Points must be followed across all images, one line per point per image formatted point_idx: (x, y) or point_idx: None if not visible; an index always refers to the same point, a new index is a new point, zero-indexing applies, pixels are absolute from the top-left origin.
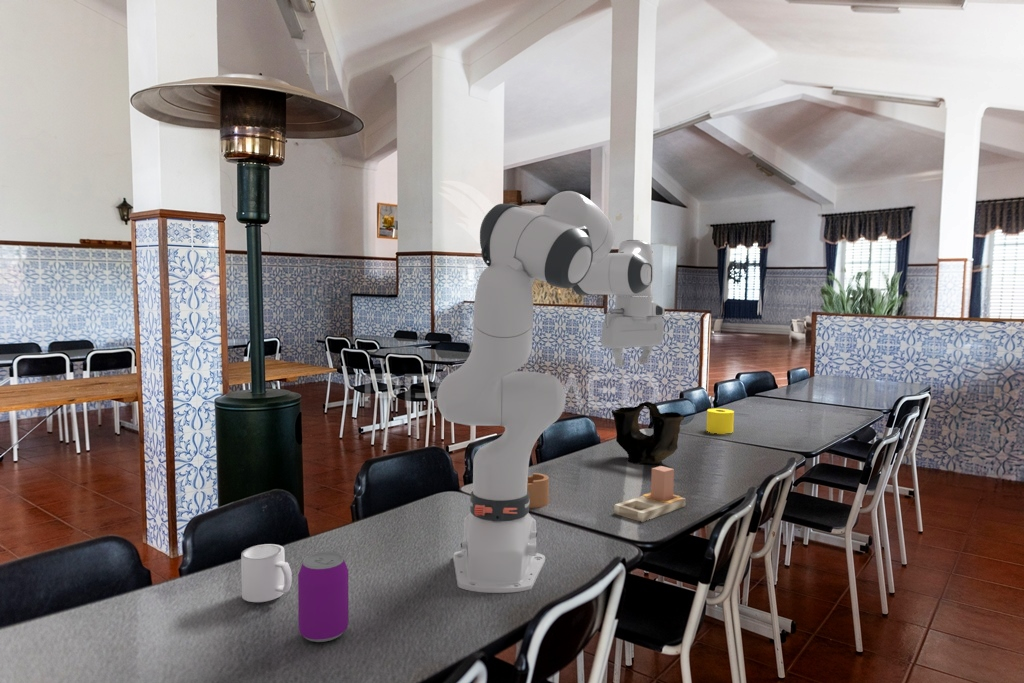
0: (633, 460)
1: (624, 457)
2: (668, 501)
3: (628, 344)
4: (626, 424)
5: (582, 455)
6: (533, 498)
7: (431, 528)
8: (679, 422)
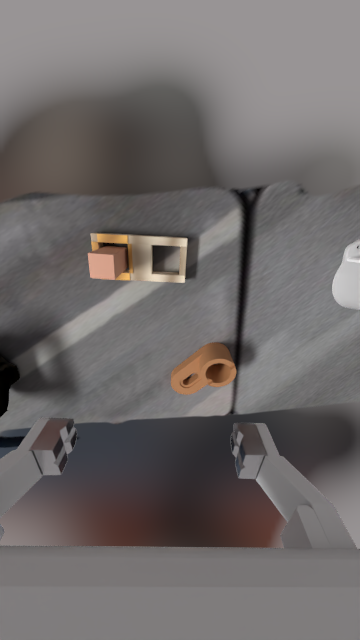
0: (15, 373)
1: None
2: (123, 240)
3: (296, 585)
4: None
5: None
6: (227, 351)
7: (328, 363)
8: None
